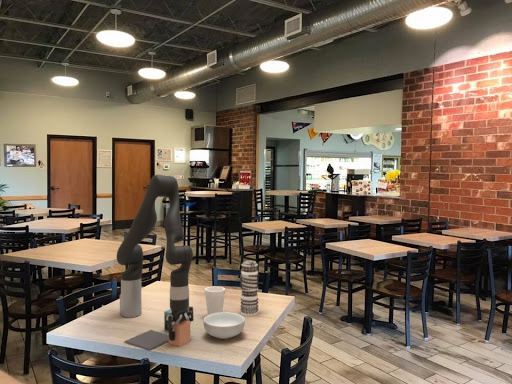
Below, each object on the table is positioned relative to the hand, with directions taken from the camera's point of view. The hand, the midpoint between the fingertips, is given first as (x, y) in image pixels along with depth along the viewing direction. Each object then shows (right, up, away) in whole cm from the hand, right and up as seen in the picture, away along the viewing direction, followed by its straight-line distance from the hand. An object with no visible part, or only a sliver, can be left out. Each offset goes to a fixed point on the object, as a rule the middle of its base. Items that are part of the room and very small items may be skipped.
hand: (179, 336), depth 162 cm
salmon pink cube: (0, -2, 0) cm, 2 cm away
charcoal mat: (-12, -2, +2) cm, 12 cm away
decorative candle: (+27, -1, +35) cm, 44 cm away
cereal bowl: (+17, -2, +7) cm, 19 cm away
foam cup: (+11, -1, +30) cm, 32 cm away
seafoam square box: (-5, -2, +14) cm, 14 cm away
